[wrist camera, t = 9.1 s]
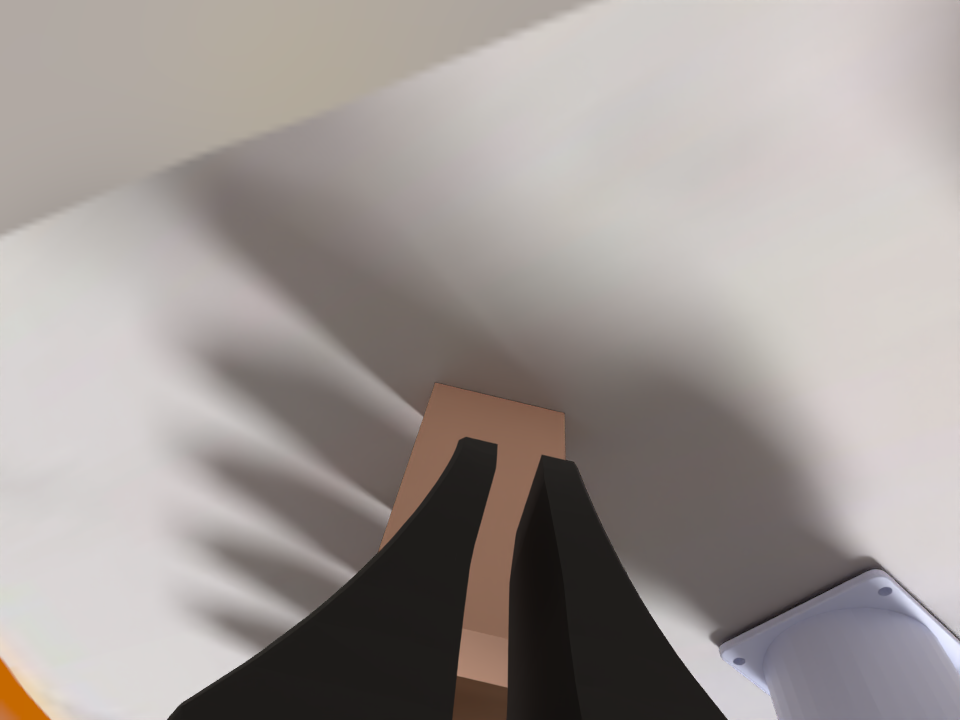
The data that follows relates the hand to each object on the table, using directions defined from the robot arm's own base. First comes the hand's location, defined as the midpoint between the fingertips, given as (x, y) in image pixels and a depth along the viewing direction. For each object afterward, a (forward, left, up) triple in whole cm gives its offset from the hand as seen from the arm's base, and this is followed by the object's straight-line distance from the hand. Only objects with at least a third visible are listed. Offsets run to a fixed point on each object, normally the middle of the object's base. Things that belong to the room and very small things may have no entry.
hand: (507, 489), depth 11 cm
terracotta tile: (-3, +5, -10) cm, 12 cm away
